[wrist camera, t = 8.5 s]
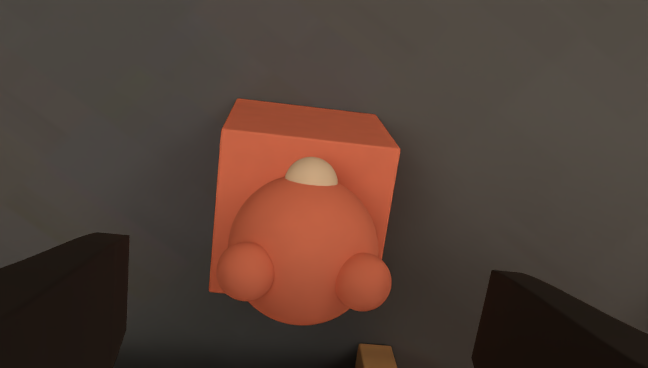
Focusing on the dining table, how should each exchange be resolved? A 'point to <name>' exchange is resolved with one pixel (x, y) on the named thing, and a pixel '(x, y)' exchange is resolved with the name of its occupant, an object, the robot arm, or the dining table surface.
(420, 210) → the dining table surface
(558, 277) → the dining table surface
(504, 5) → the dining table surface
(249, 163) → the orange box
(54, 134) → the dining table surface
